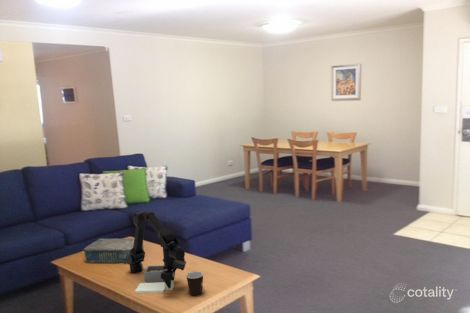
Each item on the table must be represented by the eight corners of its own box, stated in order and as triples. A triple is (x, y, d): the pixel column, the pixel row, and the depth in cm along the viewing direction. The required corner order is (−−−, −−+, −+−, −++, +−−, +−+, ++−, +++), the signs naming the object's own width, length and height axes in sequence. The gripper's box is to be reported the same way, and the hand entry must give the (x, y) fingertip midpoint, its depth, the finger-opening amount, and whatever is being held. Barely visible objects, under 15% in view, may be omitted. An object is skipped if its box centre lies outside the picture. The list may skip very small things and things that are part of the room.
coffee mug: (197, 298, 213) (196, 279, 212) (184, 295, 217) (182, 276, 216) (211, 289, 223) (209, 270, 221) (197, 286, 227) (196, 268, 226)
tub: (144, 283, 234) (143, 272, 233) (148, 276, 243) (147, 265, 242) (170, 282, 233) (169, 271, 232) (173, 275, 242) (172, 265, 241)
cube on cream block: (135, 295, 221) (134, 286, 221) (140, 286, 231) (139, 279, 230) (171, 294, 220) (170, 285, 219) (174, 285, 229) (174, 278, 229)
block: (149, 280, 236) (148, 273, 236) (151, 277, 240) (150, 270, 240) (156, 279, 236) (156, 273, 236) (158, 276, 240) (157, 270, 239)
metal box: (100, 252, 290) (98, 237, 288) (145, 252, 284) (144, 238, 283) (84, 264, 269) (82, 249, 268) (132, 264, 263) (130, 249, 262)
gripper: (181, 262, 213) (183, 291, 215) (187, 249, 231) (189, 276, 233) (159, 263, 213) (161, 292, 215) (166, 249, 232) (169, 277, 234)
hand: (171, 284), depth 224 cm, fingers open, 9 cm apart
